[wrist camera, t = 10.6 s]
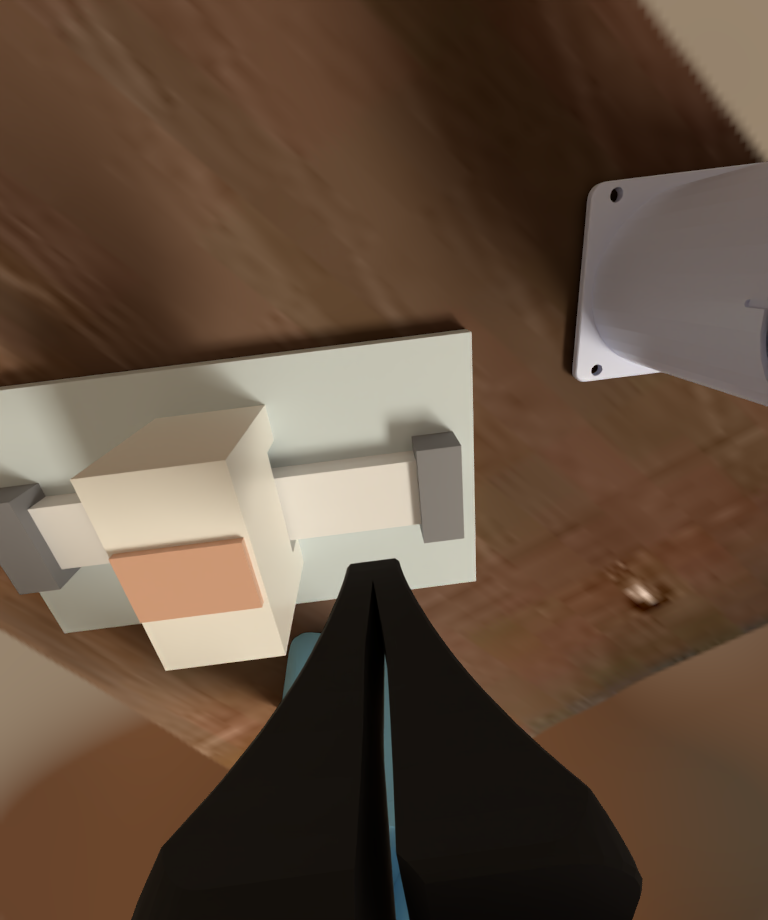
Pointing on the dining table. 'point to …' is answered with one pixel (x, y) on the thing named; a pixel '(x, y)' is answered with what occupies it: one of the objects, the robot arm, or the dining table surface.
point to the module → (198, 536)
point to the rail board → (291, 459)
